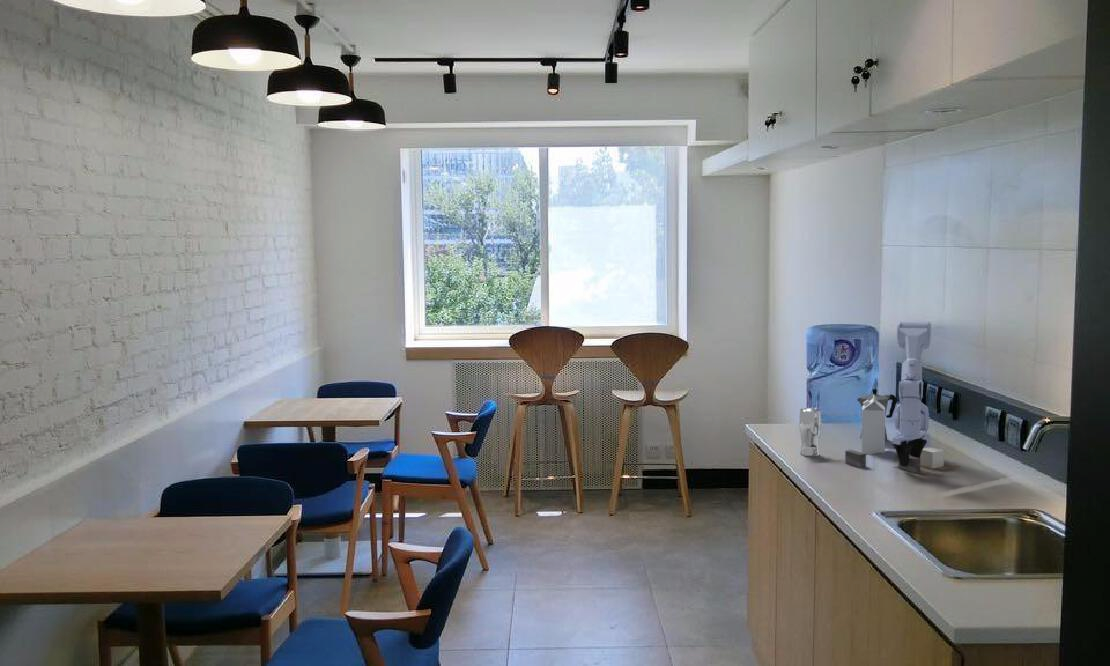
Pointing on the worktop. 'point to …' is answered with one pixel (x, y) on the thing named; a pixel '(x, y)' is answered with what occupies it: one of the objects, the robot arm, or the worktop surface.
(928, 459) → the ceramic block
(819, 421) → the silver drinking tumbler
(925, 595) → the worktop surface
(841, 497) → the worktop surface
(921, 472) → the walnut strip
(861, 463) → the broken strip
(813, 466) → the worktop surface
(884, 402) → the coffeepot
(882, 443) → the milk carton
